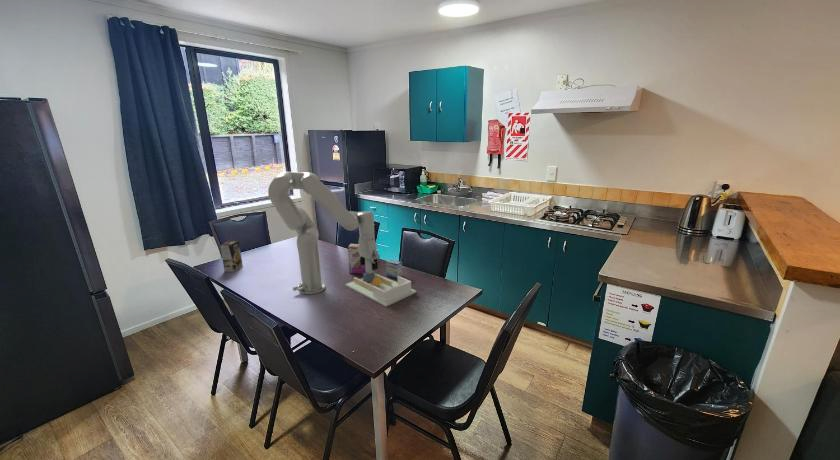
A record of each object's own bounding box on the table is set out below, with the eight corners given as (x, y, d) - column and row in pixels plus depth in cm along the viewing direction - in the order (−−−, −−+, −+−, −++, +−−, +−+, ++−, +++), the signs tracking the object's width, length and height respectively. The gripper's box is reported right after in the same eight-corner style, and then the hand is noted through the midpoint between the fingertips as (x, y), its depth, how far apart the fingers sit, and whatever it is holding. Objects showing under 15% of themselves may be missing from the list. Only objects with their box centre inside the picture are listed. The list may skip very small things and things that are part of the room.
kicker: (366, 283, 178) (365, 256, 174) (362, 282, 180) (361, 254, 176) (375, 280, 182) (374, 253, 178) (371, 278, 185) (370, 252, 180)
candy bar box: (349, 273, 195) (347, 246, 190) (351, 270, 200) (350, 243, 195) (368, 274, 194) (367, 246, 189) (370, 271, 198) (369, 244, 194)
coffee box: (235, 271, 198) (230, 245, 193) (224, 271, 198) (219, 245, 193) (243, 265, 206) (239, 240, 202) (232, 265, 206) (228, 240, 202)
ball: (376, 288, 174) (376, 280, 173) (370, 285, 177) (370, 277, 176) (383, 285, 177) (382, 277, 176) (377, 283, 180) (377, 275, 179)
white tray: (385, 306, 158) (385, 295, 157) (345, 285, 180) (344, 275, 178) (416, 292, 172) (416, 281, 170) (375, 274, 193) (375, 264, 192)
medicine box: (386, 276, 191) (385, 261, 189) (390, 273, 195) (390, 259, 193) (398, 278, 188) (397, 264, 186) (402, 276, 192) (402, 261, 189)
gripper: (350, 234, 178) (353, 264, 182) (372, 241, 166) (373, 273, 171) (362, 230, 183) (364, 261, 188) (383, 237, 171) (385, 269, 176)
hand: (369, 267), depth 179 cm, fingers open, 9 cm apart
